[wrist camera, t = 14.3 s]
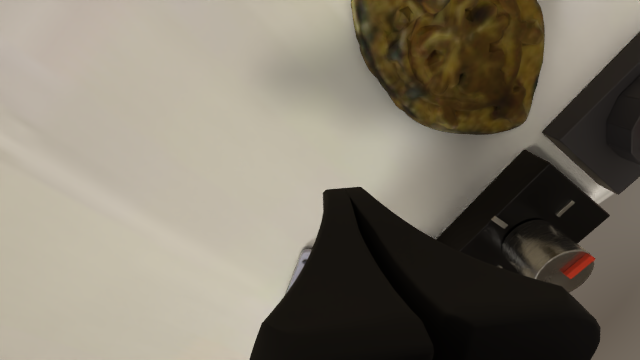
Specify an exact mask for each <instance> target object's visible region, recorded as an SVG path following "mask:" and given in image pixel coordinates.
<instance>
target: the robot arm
mask: <svg viewBox="0 0 640 360" xmlns="http://www.w3.org/2000/svg"><path fill="white" fill-rule="evenodd" d="M323 210H324V212H323V217H322V222H321V226H320V229H319V232H318V235H317V238H316V241H315V243H314V246H313V248H312V249H304V250H303V251H302V252H301V254H300V257H299V260H298V263H297V265H296V268H295V271H294V273H293V276H292V279H291V281H290V284H289V287H288V289H287V292H286V295H285V296H284V298H283V299H282V300H281V301H280V303H279V304H278V305H277V306H276V307H275V309H274V310H273V311H272V312H271V313H270V315H269V316H268V317H267V318H266V319H265V320H264V322H263V323H262V325H261V327H260V330H259V333H258V335H257V338H256V341H255V344H254V347H253V350H252V353H251V357H250V360H591V358H592V356H593V354H594V353H595V351H596V349H597V347H598V344H599V342H600V326H599V324H598V323H597V321H596V319H595V318H594V317H593V316H592V315H591V314H590V313H589V312H588V311H587V310H586V309H585V308H584V307H583V306H582V305H581V304H580V303H579V302H578V301H577V300H576V299H575V298H574V297H572V296H571V295H570V294H569V293H568V292H567V291H566V290H565V289H564V288H563V287H562V286H559V285H555V284H552V283H548V282H545V281H541V280H538V279H534V278H531V277H527V276H524V275H520V274H517V273H514V272H511V271H508V270H505V269H503V268H500V267H497V266H494V265H491V264H489V263H486V262H483V261H481V260H478V259H476V258H473V257H471V256H469V255H467V254H464V253H462V252H460V251H457V250H455V249H453V248H451V247H449V246H447V245H445V244H443V243H441V242H439V241H437V240H435V239H434V238H432V237H430V236H428V235H426V234H425V233H423V232H421V231H420V230H418V229H416V228H415V227H413V226H412V225H410V224H409V223H407V222H406V221H404V220H403V219H401V218H400V217H398V216H397V215H396V214H394V213H393V212H392V211H390V210H389V209H388V208H386V207H385V206H384V205H382V204H381V203H380V202H379V201H377V200H376V199H375V198H374V197H373V196H371V195H370V194H369V193H368V192H366V191H365V190H364V189H363V188H361V187H353V188H341V189H329V190H325V191H324V192H323ZM304 259H307V261H303V260H304Z"/></svg>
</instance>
